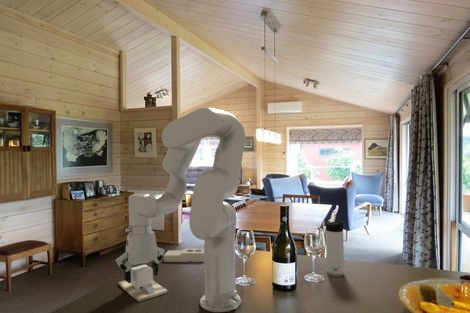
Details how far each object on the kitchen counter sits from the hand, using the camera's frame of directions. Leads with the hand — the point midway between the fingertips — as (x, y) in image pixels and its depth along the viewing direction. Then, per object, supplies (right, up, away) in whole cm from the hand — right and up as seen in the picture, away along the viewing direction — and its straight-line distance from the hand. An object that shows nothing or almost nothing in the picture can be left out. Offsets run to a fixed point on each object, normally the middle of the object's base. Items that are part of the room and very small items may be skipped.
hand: (141, 278), depth 114 cm
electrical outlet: (+11, -4, +31) cm, 33 cm away
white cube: (0, -3, 0) cm, 2 cm away
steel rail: (0, -4, 0) cm, 4 cm away
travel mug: (+71, -2, +10) cm, 71 cm away
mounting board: (0, -4, 0) cm, 4 cm away
